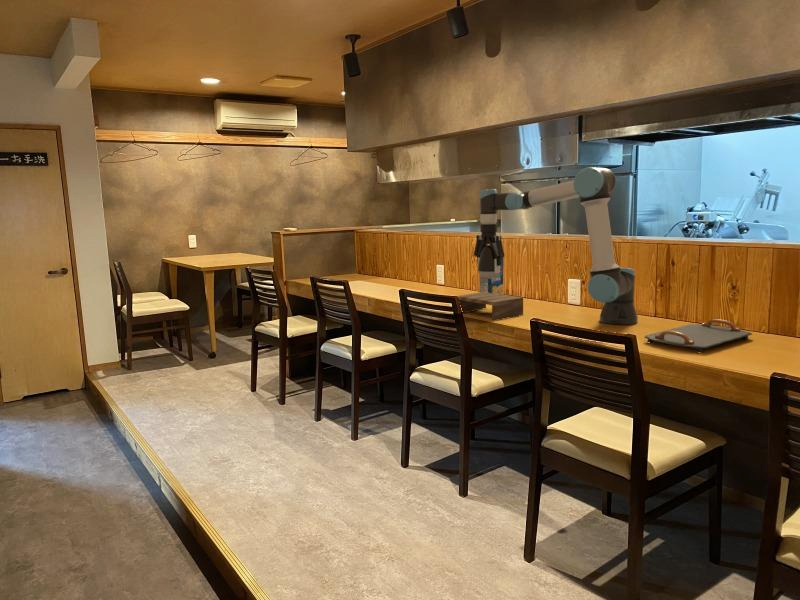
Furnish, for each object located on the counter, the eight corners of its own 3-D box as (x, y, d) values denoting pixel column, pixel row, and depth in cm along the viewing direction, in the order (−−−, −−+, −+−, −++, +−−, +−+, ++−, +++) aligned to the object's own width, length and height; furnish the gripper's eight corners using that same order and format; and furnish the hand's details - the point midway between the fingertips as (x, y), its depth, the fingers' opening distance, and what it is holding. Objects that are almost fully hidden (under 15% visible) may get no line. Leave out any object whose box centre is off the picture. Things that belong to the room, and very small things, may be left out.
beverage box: (479, 298, 326) (479, 257, 322) (494, 296, 332) (494, 256, 328) (488, 299, 320) (487, 258, 317) (503, 297, 326) (503, 257, 323)
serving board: (696, 329, 238) (697, 314, 237) (757, 339, 220) (758, 322, 219) (637, 344, 217) (638, 327, 216) (700, 357, 198) (701, 338, 197)
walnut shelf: (523, 314, 276) (523, 297, 274) (495, 320, 265) (495, 302, 264) (483, 307, 296) (483, 291, 295) (455, 312, 286) (455, 296, 285)
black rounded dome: (499, 276, 283) (499, 244, 280) (500, 279, 273) (500, 245, 270) (477, 276, 284) (477, 244, 281) (478, 279, 274) (477, 246, 271)
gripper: (512, 223, 267) (512, 273, 271) (477, 222, 285) (477, 269, 289) (501, 224, 263) (501, 274, 267) (465, 223, 281) (466, 270, 285)
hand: (488, 272), depth 278 cm, fingers closed on black rounded dome, 10 cm apart
